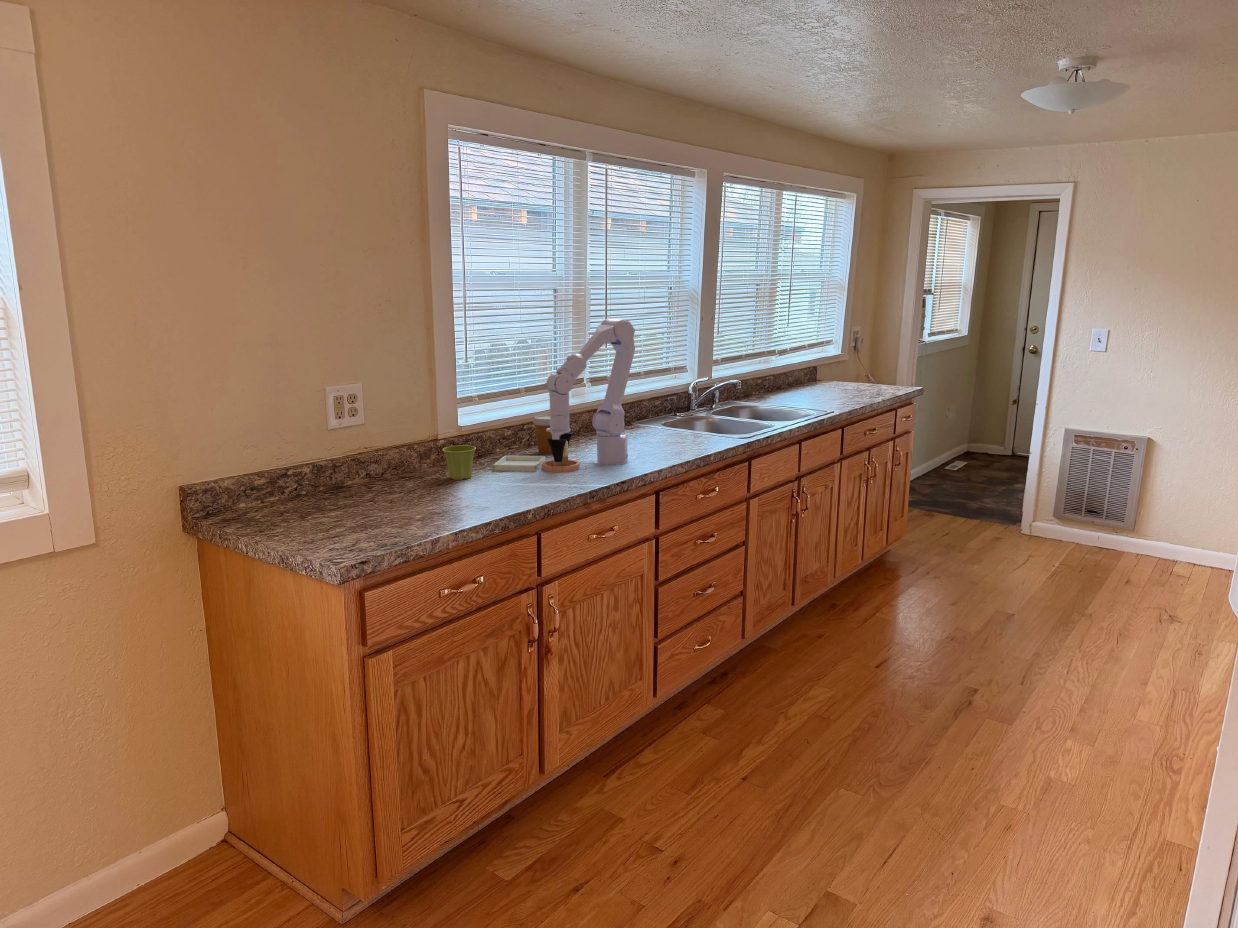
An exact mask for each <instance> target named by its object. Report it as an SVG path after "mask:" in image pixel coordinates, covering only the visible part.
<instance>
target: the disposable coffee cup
mask: <svg viewBox="0 0 1238 928" xmlns="http://www.w3.org/2000/svg"><path fill="white" fill-rule="evenodd" d="M532 423H533V424H534V431H535V438H536V443H537V449H538V454H540V455H541V456H546V455H548V456H549V455H552V454H553V453H552V450H551V447H550V445H549V443H548V441H547V439H548V438H552V433H551V432H549V431H546V429H547V428H550V414H543V415H536V416H534V418H533V420H532ZM552 456H553V455H552Z"/></svg>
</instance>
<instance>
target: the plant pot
mask: <svg viewBox="0 0 1238 928" xmlns="http://www.w3.org/2000/svg"><path fill="white" fill-rule="evenodd" d="M476 449H477V447H476V446H474V445H466V444H465V445H463V444H462V445H461V444H460V445H450V446H446V447H443V448H442V452H443V454H444V457H445V459H446V465H447V468H448V474H449V478H450V479H452V480H455V481H456V480H457V481H462V480H463V479H466V480H467V479H471V478H472V474H473V461H474V455H475V451H476Z"/></svg>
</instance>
